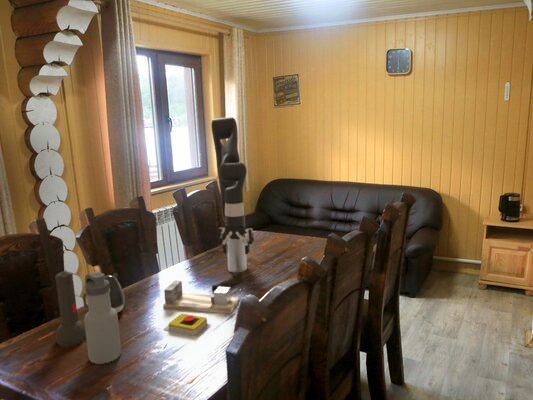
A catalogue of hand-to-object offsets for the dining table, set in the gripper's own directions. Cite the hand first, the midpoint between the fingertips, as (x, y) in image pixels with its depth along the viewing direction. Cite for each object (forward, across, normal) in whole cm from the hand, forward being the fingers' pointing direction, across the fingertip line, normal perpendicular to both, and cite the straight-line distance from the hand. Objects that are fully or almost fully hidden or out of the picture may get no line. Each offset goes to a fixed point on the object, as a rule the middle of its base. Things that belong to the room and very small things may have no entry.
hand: (236, 253), depth 173 cm
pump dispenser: (+21, +47, +16) cm, 54 cm away
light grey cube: (+19, +5, +4) cm, 20 cm away
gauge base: (+21, +14, +4) cm, 25 cm away
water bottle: (+22, +31, +46) cm, 60 cm away
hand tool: (+21, +10, -16) cm, 28 cm away
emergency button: (+22, +12, +23) cm, 34 cm away
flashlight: (+22, +49, +38) cm, 66 cm away
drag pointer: (+19, +9, +6) cm, 22 cm away
